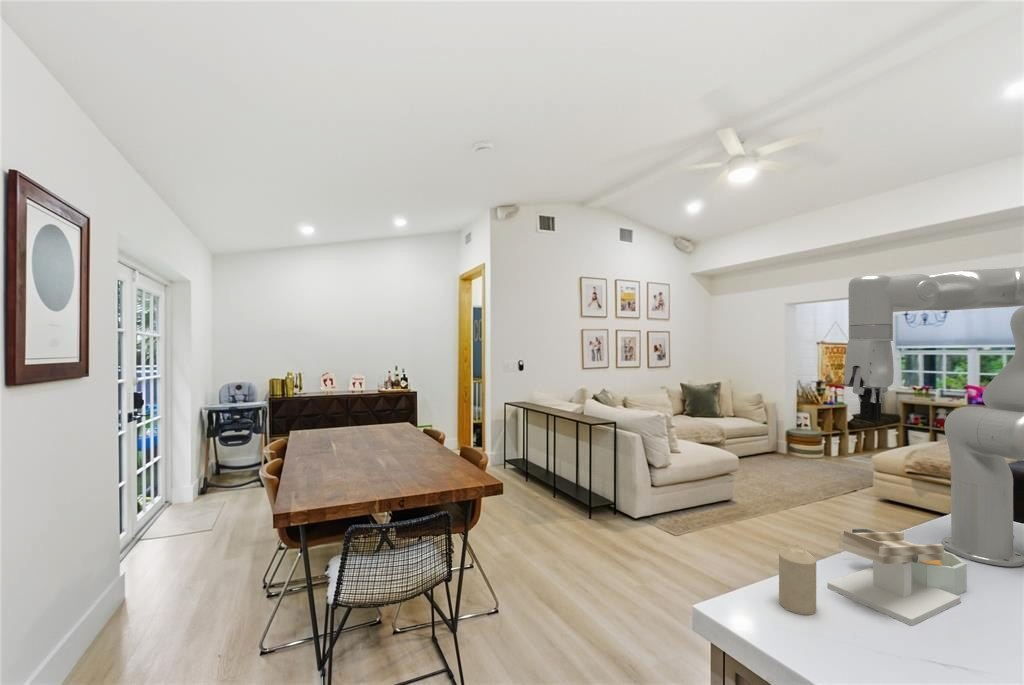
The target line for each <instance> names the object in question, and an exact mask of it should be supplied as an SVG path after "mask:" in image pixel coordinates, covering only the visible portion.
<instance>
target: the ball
mask: <svg viewBox="0 0 1024 685" xmlns="http://www.w3.org/2000/svg"><path fill="white" fill-rule="evenodd" d="M921 562H924V563H927V564H935V565H943V564H942V563H941V562H940V560H933V561H921Z"/></svg>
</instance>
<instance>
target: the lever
mask: <svg viewBox="0 0 1024 685" xmlns="http://www.w3.org/2000/svg"><path fill="white" fill-rule="evenodd" d="M904 536H905V532H902V531H887V532H886V531H885V532H884V531H883V532H882V531H881V532H880V531H879V532H877V531H874V530H870V529H867V528H857V529H852V531H849V530H843V532H840V533H839V537H838V538H839V539H838V540H839V541H838V549H839V550H843V551H845V552H848V553H851V554H853V555H856V556H859V557H862V558H865V559H868V560H870V561H871V562H873V561H875V562H878V563H881V564H891V563H905V562H914V563H917V562H919V561H933V560H943V555H944V551H945V548H944V545H942V543H934V544H933V543H932V544H916V543H913V542H910V541H906V540H904V538H905V537H904Z"/></svg>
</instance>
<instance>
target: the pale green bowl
mask: <svg viewBox="0 0 1024 685" xmlns="http://www.w3.org/2000/svg"><path fill="white" fill-rule="evenodd" d="M940 562H941V563H942V564H943V565H935V564H927V563H924V562H921V561H919V562H917V563H914V562H911V581H913V582H915V583H918V584H921V585H923V586H927V587H933V588H938V589H941V590H943V591H946V592H949V593H951V594H954V595H957V596H959V595H961V594H964V593H966V592H967V591H968V590H967V588H968V582H967V581H968V579H967V578H968V577H967V576H968V575H967V574H968V573H967V572H968V570H967V565H968V564H967V562H965V561H964V560H963V559H961V557H960V556H958V555H956V554H954V553H951V552H950V551H947V550H944V555H943V560H940Z"/></svg>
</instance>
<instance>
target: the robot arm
mask: <svg viewBox="0 0 1024 685" xmlns="http://www.w3.org/2000/svg"><path fill="white" fill-rule="evenodd" d="M1012 307H1018V308H1017V309H1016V310H1014V312H1013V313H1012V315H1011V317H1010V324H1009V326H1010V330H1011V333H1012V338H1013V340H1014V341H1013V342H1014V345H1015V350H1014V354H1013V356H1012V358H1010V360H1009V361H1008V362H1007V364H1005V366H1004V367H1002V369H1001V370H1000V371H999V372H998V373H997V374H996V375H995V377H994V378H993V379H992V380H991V381H990V382H989V383H988V384H987V385H986V387H985V389H984V390H983V393H982V397H981V398H982V401H983V403H984V405H985V407H982V406H963V407H958V408H956V409H954V410H952V411H950V413H949V414H948V415H947V416H946V418H945V420H944V427H943V429H944V434H945V438H946V442H947V445H948V446H947V447H948V450H949V455H950V456H949V457H950V496H951V497H950V522H951V523H950V530H951V533H950V536H949V537H944V538H942V540H941V544H942V545H944V550H945V551H947V552H949V553H952V554H955V555H956V556H957V557H960V558H964V559H968V560H971V561H974V562H978V563H982V564H987V565H992V566H997V567H1007V568H1008V567H1011V568H1013V567H1014V568H1015V567H1021V566H1023V565H1024V555H1022V554H1021V553H1019V552H1018V551H1016V550H1014V540H1015V535H1014V477H1013V471H1012V470H1011V468H1010V464H1009V463H1008V462H1007V460H1006V458H1007V459H1008V458H1009V459H1013V460H1018V461H1024V266H1017V267H1016V266H1015V267H1004V268H991V269H990V268H987V269H966V270H957V271H949V272H942V273H938V274H933V275H926V274H923V273H912V274H904V275H895V276H893V275H892V276H891V275H890V276H888V275H885V274H873V275H861V276H857V277H853V278H852V279H850V281H849V283H848V340H847V341H848V342H847V347H846V350H845V352H846V353H845V359H844V374H843V375H844V376H843V377H844V379H843V380H844V385H845V386H846V387H849V388H852V393H853V394H854V395H855V394H856V395H857V396H858V401H859V409H860V410H859V419H860V420H861V421H865V422H872V423H878V422H882V402H883V399H884V398H883V397H884V394H885V393H887V392H888V391H889V387H890V386H892V385H893V384H894V376H895V375H894V374H895V373H894V372H895V371H894V369H895V368H894V355H893V348H892V347H893V346H892V342H893V341H894V313H899V312H917V311H918V312H919V311H920V312H921V311H961V310H962V311H965V310H977V309H978V310H979V309H998V308H1012Z"/></svg>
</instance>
